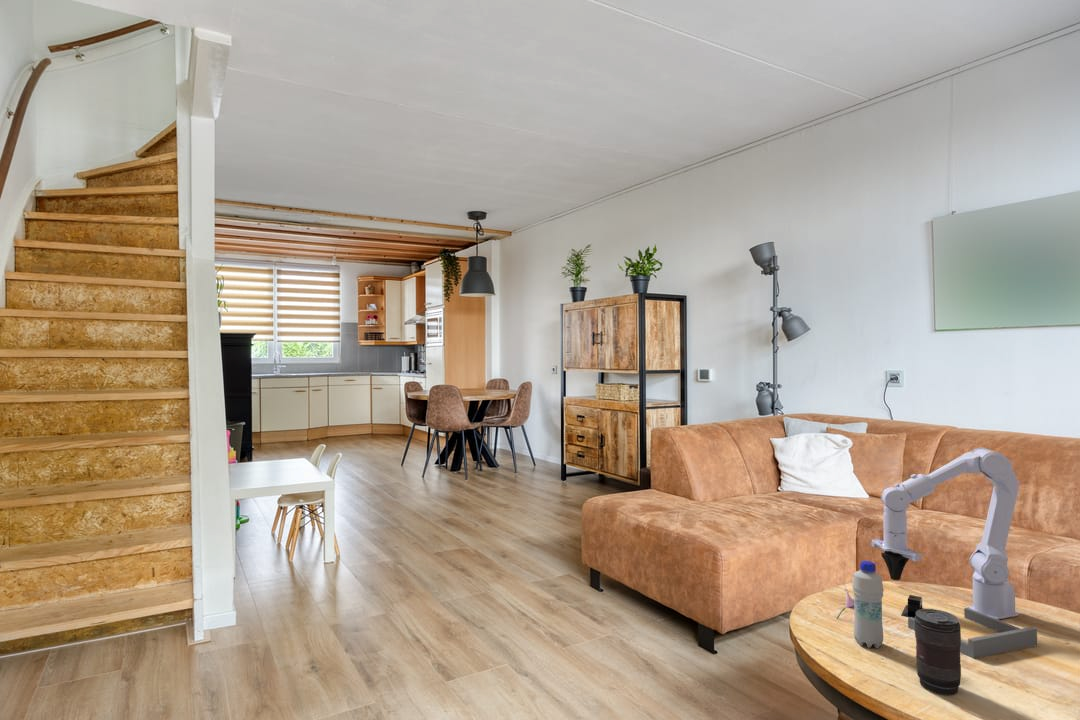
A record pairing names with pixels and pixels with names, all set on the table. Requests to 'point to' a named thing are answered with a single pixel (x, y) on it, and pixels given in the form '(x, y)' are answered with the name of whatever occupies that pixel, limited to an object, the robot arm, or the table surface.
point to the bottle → (868, 605)
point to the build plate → (912, 606)
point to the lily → (848, 602)
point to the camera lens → (938, 651)
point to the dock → (993, 636)
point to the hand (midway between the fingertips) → (895, 579)
